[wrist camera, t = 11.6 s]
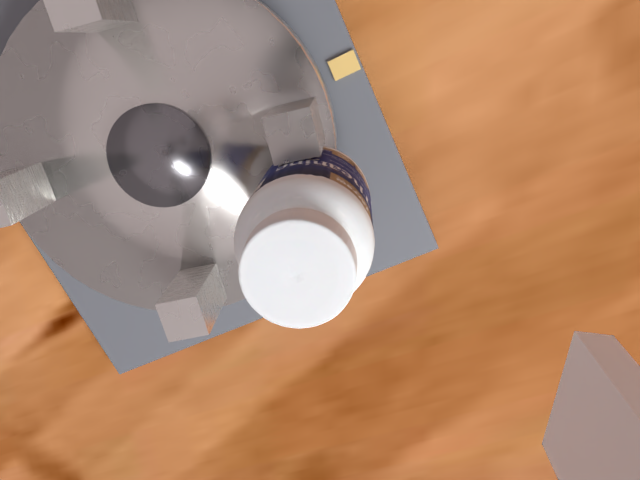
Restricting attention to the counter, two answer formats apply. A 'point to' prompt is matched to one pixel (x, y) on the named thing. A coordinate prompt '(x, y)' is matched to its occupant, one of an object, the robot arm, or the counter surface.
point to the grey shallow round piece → (152, 141)
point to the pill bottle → (305, 240)
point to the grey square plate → (352, 139)
